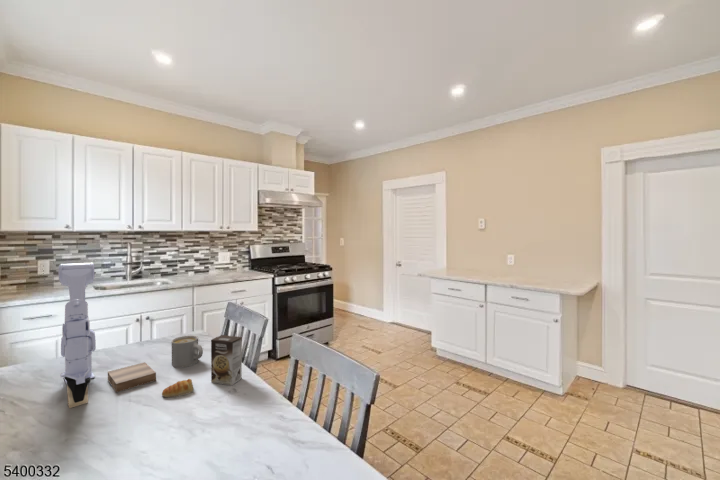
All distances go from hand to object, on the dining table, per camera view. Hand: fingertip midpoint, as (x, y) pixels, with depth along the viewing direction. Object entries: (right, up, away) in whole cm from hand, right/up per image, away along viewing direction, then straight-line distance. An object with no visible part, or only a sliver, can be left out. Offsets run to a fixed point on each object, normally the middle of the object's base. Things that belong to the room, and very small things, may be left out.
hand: (77, 398), depth 104 cm
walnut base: (+6, -1, +16) cm, 17 cm away
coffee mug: (+19, -1, +31) cm, 37 cm away
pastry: (+29, -2, +7) cm, 30 cm away
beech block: (0, -1, 0) cm, 1 cm away
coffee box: (+42, -2, +16) cm, 45 cm away
